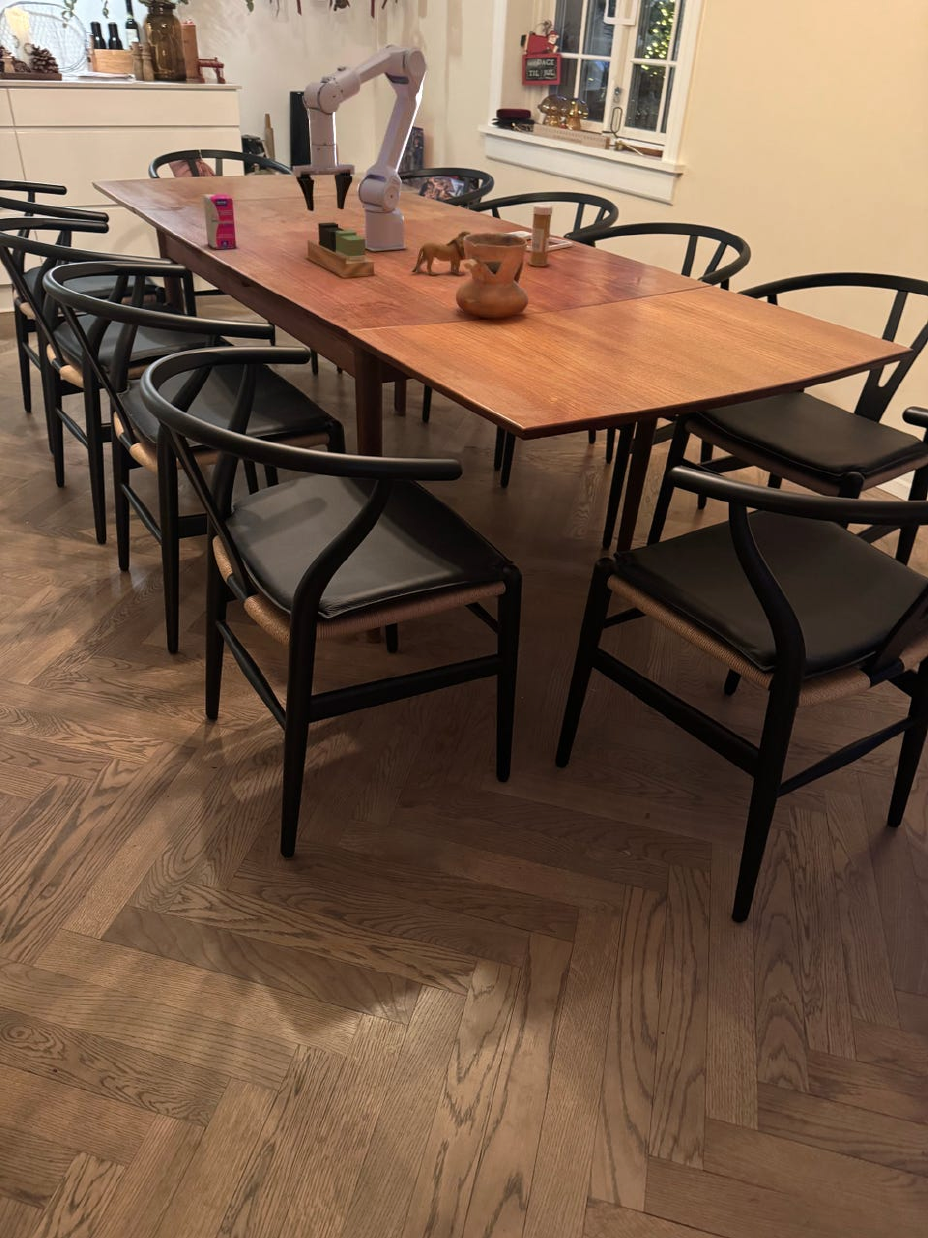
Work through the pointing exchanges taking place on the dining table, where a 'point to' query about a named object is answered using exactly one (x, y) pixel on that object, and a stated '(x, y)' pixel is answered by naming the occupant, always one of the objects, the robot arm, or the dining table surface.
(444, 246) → the lion figurine
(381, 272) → the dining table surface
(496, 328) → the dining table surface
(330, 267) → the wooden tray
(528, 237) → the photo frame
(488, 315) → the ceramic jug
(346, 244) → the green block
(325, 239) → the black block
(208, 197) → the supplement box
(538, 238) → the sprinkles bottle
